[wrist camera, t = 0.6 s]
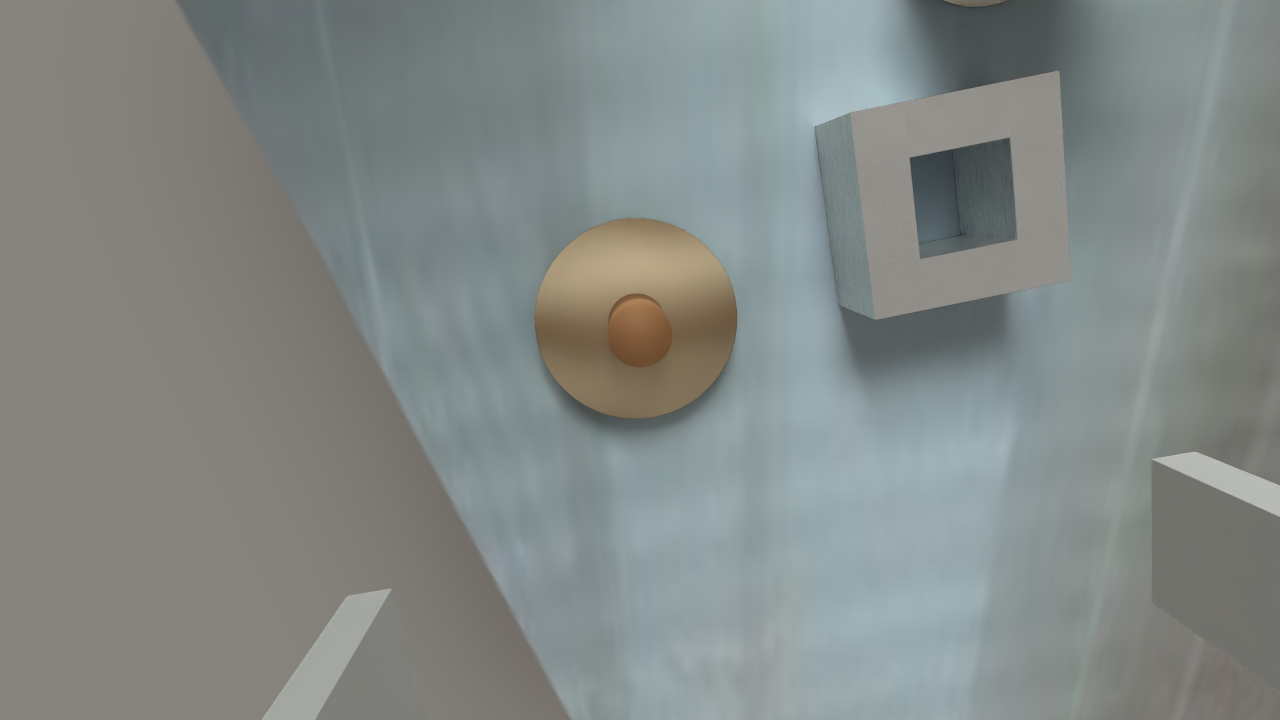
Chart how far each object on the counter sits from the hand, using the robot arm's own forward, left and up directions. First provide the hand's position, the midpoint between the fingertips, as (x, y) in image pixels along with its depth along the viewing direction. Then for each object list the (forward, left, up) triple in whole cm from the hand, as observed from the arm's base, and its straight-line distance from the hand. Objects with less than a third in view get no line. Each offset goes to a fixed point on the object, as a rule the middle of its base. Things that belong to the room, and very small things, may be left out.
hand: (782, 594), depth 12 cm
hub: (-1, -1, -24) cm, 24 cm away
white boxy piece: (-4, +14, -24) cm, 28 cm away
